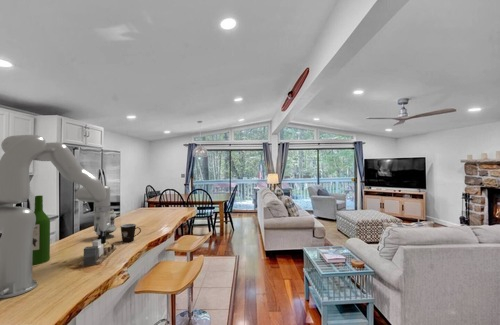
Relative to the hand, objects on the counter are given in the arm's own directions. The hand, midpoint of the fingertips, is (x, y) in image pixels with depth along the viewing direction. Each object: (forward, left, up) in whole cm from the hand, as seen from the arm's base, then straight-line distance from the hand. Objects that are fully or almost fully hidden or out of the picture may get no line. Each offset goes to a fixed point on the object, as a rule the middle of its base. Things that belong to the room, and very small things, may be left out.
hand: (101, 243), depth 131 cm
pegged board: (-3, 0, -6) cm, 7 cm away
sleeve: (-6, 0, -4) cm, 7 cm away
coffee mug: (+21, -8, -6) cm, 24 cm away
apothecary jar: (+33, +10, -6) cm, 35 cm away
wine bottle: (-5, +27, -6) cm, 28 cm away
